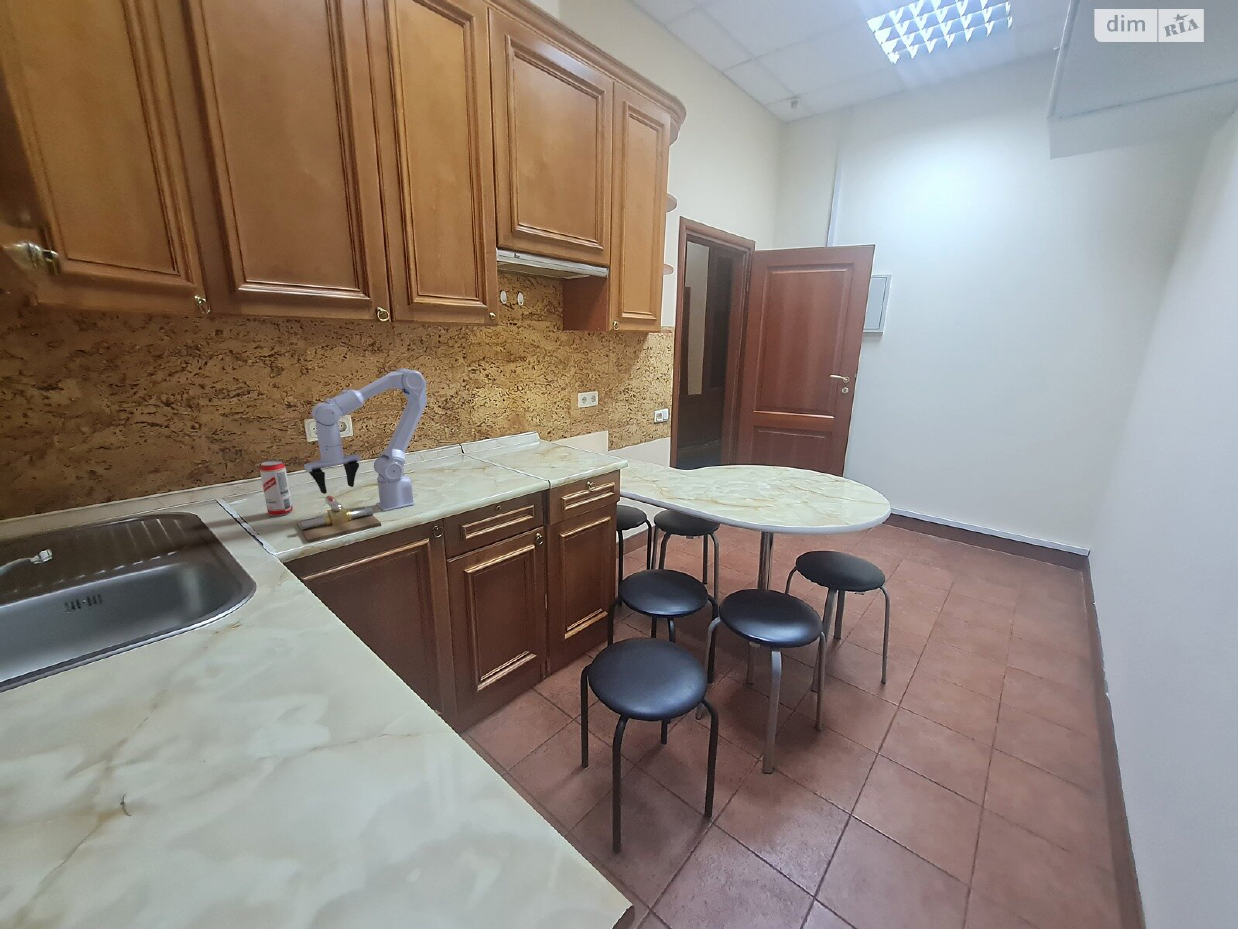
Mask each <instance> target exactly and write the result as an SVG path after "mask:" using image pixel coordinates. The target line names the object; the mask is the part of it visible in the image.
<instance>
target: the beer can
mask: <svg viewBox="0 0 1238 929" xmlns="http://www.w3.org/2000/svg"><path fill="white" fill-rule="evenodd" d="M260 465H261V466H260V469H259V472H260V473H259V474H260V478H261V479H260V480H261V483H262V488H263V494H264V498H265V499H264V500H265V505H266V510H267V513H268V515H270V516H272V517H283V516H286V515H289V514H291V512H292V511H293V510H294V507H293V502H292V496H291V491H290V484H289V479H288V473H287V468H286V465H285V464H284V463H283V461H282V460H267V461H263V462H261V463H260Z"/></svg>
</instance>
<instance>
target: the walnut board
mask: <svg viewBox="0 0 1238 929" xmlns="http://www.w3.org/2000/svg"><path fill="white" fill-rule="evenodd" d="M364 508H366V507H365V506H364V507H361V508H360V507H359V508H354V509H349V510H350V511H355V510H359V509H364ZM321 517H324V515H321V516H316V517H312V518H307V519H301V520H297V521H296V526H297V527H298V529H299V531H300V532H301V534H302V535H303V537H304V539H305V540H306V541H307V543H308V544H311V543H316V542H318V541H324V540H327V539H333V538H337V537H339V536H345V535H349V534H352V533H353V534H354V533H356V532H361V531H365V530H370V529H374V528H378V527H382V522H381V521H380V520H379V519H378V518H377V517H375V515H374V514H373V515H370V516H365V517H361V518H356V519H352V521H348V523H344V524H339V525H335V526H332V525H329V526H326V525H324V526H320V527H315V528H311V529H306V530H302V529H301V526H300V522H302V521H307V520H312V519H316V518H321Z"/></svg>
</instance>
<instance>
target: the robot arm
mask: <svg viewBox="0 0 1238 929" xmlns="http://www.w3.org/2000/svg"><path fill="white" fill-rule="evenodd" d="M427 384H428V383H427V381H426V380H425V377H424V375H423V374H422V373H421V372H420V371H418V370H414V369H408V368H404V367H402V368H399V369H397V370H396V371H391V372H389V373H387V374H385V375H384V376H382V377H380V378H378V379H376V380H374V381H372V382H371V383H369V384H367V385H366V386H364V387H362V388H360V389H359V390H356V389H343V390H341V393H339V394H338V395H336V396H334V397H332V398H329V397H328V398H326V399H325V402H319V403H317V404H315V405H314V406H313V408H312V410H311V414H310V415H311V417H312V418H313V420H314V421H315V427H316V436H317V443H318V448H319V449H318V450H319V454H320V459H318V460H316V461H313V462H309V463H304V464H303V467H304V471H305V472H307V473H309V475H310V476H311V477H312V478H313V480H314V481H315V483H316V484H317V486H318V488H319V492H320V493H322V494H323V495H324V494H327V493H328V492H327V487H326V478H325V477H326V472H325V471H323V469H327V468H331V467H337V466H340V465H343V467H344V470H345V474H346V482H347V486H349V487H351V488H353V487H354V486H355V478H356V475H357V472H358V469H359V467H360V464H359V462H361V461H362V460H361V456H360V455H361V454H357V453H356V454H349V455H344V449H343V444H342V443H343V442H342V435H341V430H340V426H339V420H340V418H341V417H342V418H344V417H345V416H347V415H349V414H351V413H353V412H354V411H356V410H359V409H361V408H362V407H363V406H364V404H365V401H366V400H369V399H370V398H372V397H374V396H376V395H379V394H381V393H383V392H385V391H387V390H390V389H393V390H400V391H401V392H403V395H404V396H405V398H406V400H407V402H406V405H405V407H404V409H403V412H402V414H401V416H400V419H399V421H398V424H397V425H396V428H395V429H394V433H393V434H392V436H391V439H390V441H389V443H388V446H387V447H386V448H384V449H383V450H382V452H381V454H380V456H379V457H377V458H376V459H375V460H374V463H373V469H374V471H375V473H377V474H378V475H377V478H376V480H377V487H378V490H377V491H378V496H379V502H376V503H375V505H376V506H377V507H378V508H380V509H381V510H382V511H383V512H386V511H391V510H395V509H396V510H397V509H401V508H405V507H409V506H413V505H415V502H414V501H415V500H414V494H413V493H414V492H413V485H412V484H413V483H412V482H411V478H410V477H409V476H405V475H404V472H405V468H404V466H405V463H406V455H405V454H406V451H407V449H408V447H409V445H410V442H411V439H412V438H413V436H414V434H415V431H416V428H417V427H418V424H419V422H420V419H421V417H422V416H423V414H424V411H425V408H426V406H427V405H428V404H427V402H428V398H427V396H428V395H427ZM403 475H404V476H403Z"/></svg>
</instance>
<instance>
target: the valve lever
mask: <svg viewBox="0 0 1238 929" xmlns="http://www.w3.org/2000/svg"><path fill="white" fill-rule="evenodd" d="M324 499H325V502H326V503H327V504H328V505H329V507H330V508H331V509H330V510H332V511H337V510H341V509H342V507H343V506H342V503H339V501H337V500H336V499H335V498H334V496H332V495H327V496H325V497H324Z"/></svg>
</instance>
